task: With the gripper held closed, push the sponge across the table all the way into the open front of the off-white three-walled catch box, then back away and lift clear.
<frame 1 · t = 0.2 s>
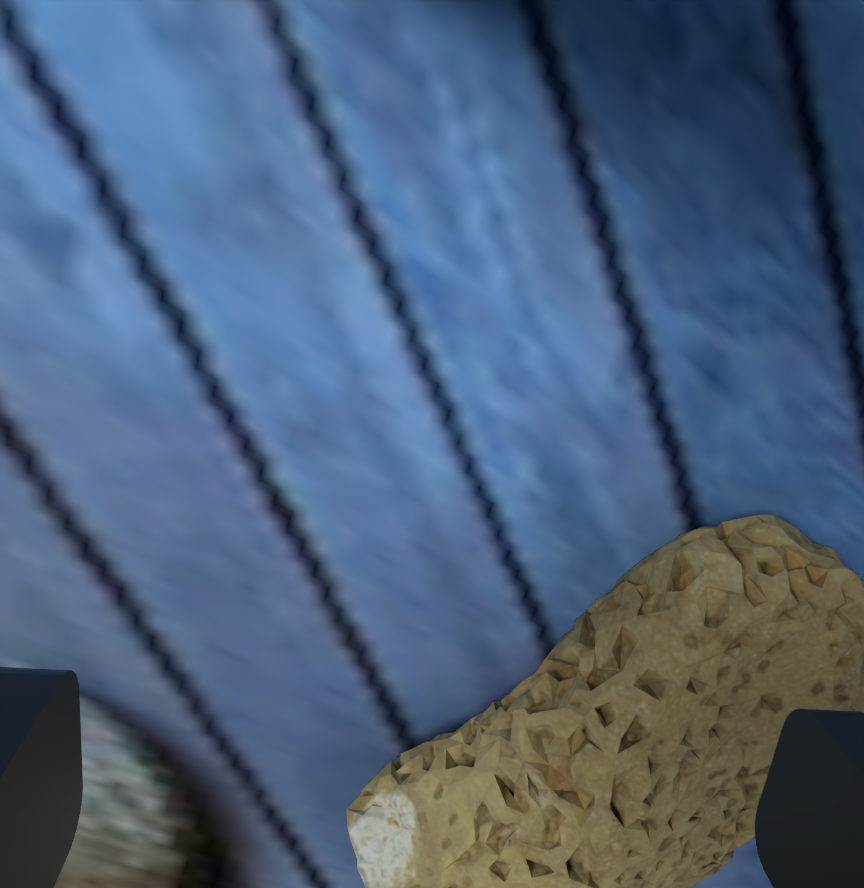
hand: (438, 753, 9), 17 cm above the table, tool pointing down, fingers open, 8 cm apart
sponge: (587, 690, 31), on the table
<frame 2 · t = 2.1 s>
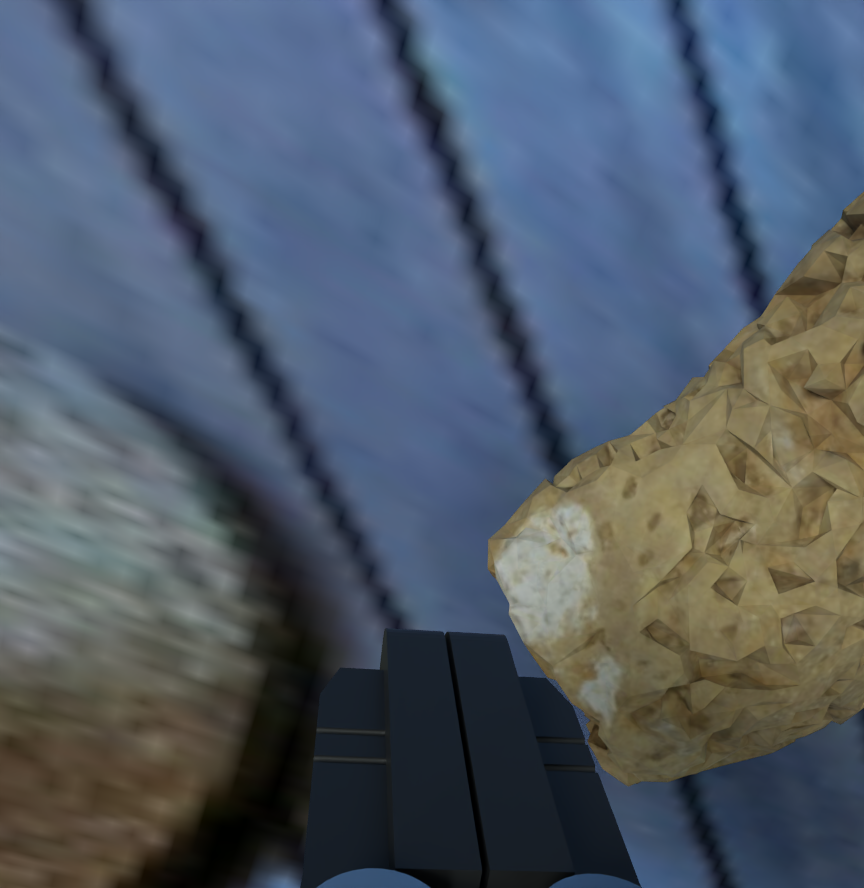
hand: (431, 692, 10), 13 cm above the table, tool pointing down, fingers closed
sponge: (794, 407, 23), on the table
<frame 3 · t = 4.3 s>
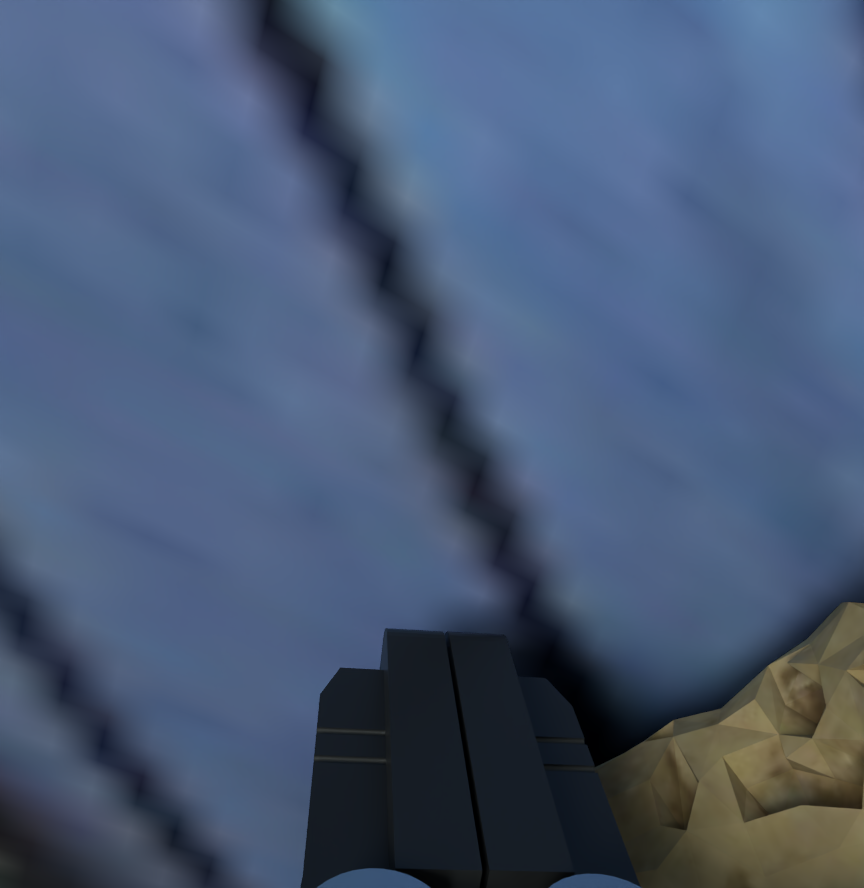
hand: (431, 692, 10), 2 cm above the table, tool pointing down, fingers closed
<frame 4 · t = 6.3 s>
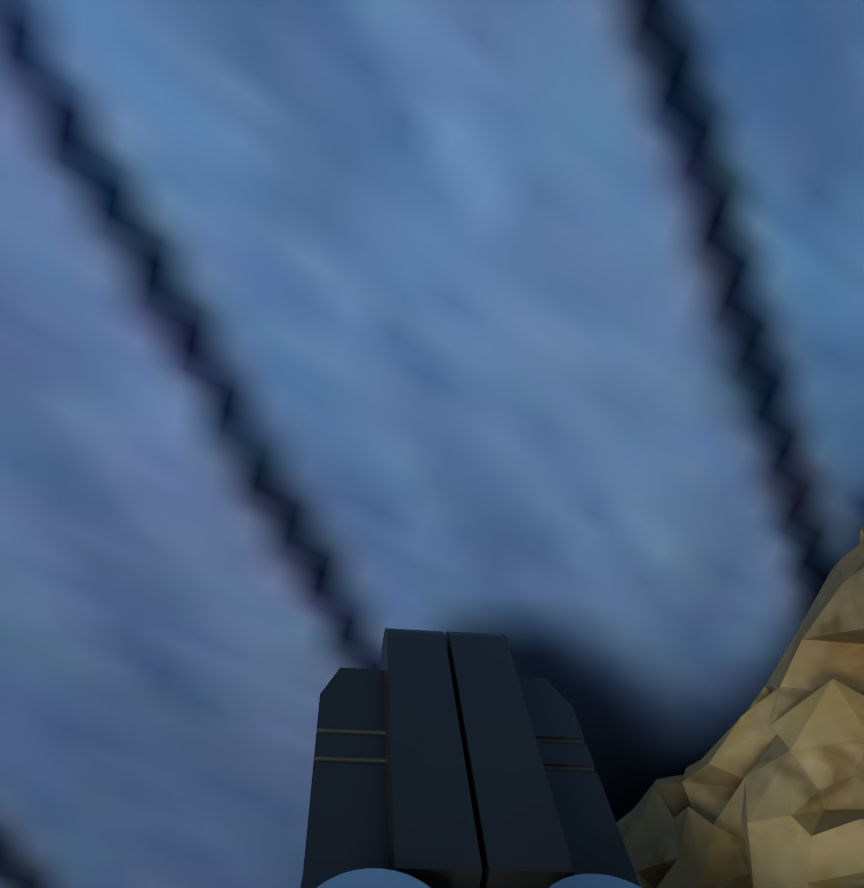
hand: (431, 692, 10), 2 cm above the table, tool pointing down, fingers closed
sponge: (862, 713, 13), on the table, touching gripper
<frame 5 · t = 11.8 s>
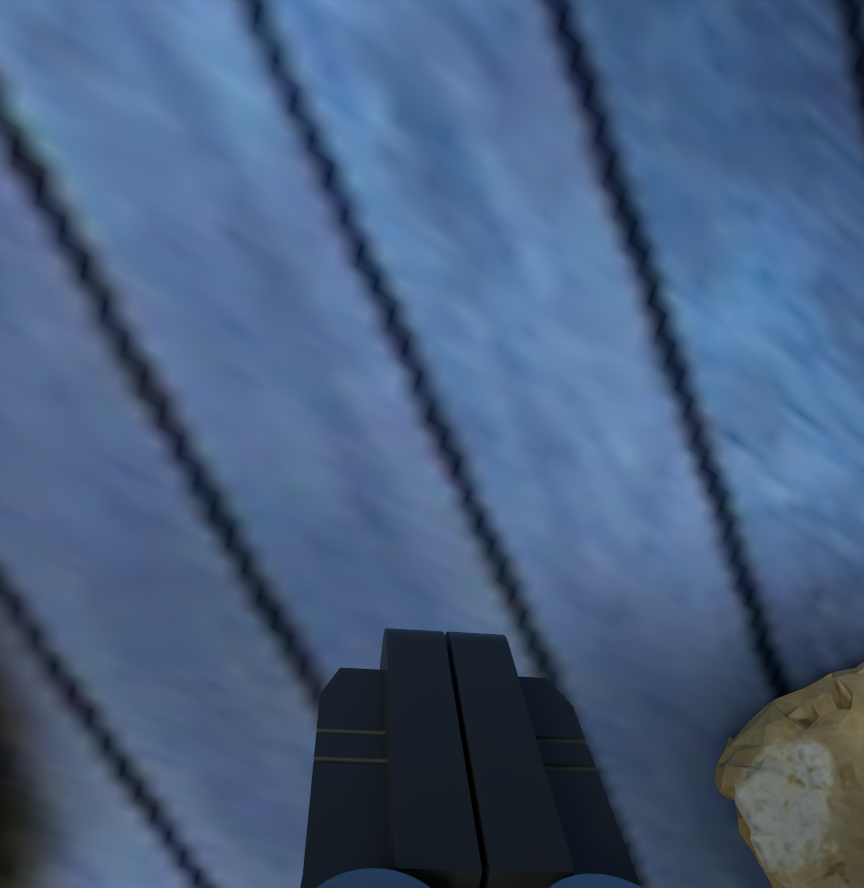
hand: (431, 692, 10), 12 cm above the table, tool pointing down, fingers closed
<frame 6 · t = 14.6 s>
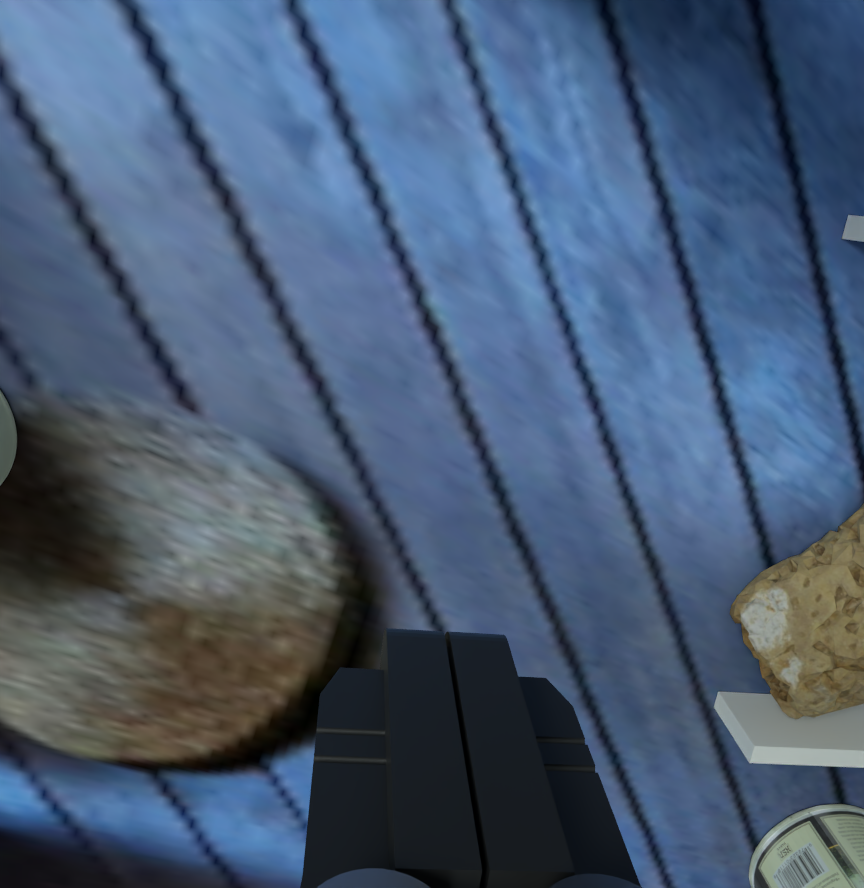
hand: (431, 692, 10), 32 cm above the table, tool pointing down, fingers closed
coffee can: (817, 857, 55), on the table
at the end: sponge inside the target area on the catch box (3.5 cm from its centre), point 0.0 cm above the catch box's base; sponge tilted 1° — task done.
